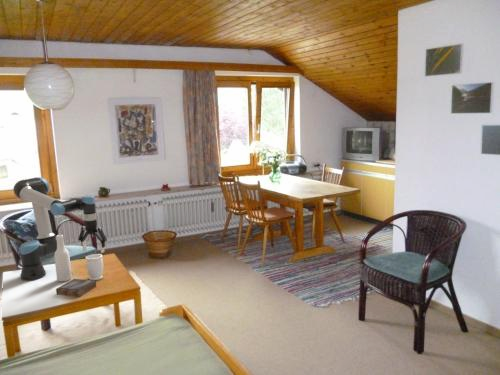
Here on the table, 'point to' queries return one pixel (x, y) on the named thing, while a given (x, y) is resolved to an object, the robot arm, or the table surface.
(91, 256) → the jar
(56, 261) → the alcohol
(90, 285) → the plinth
